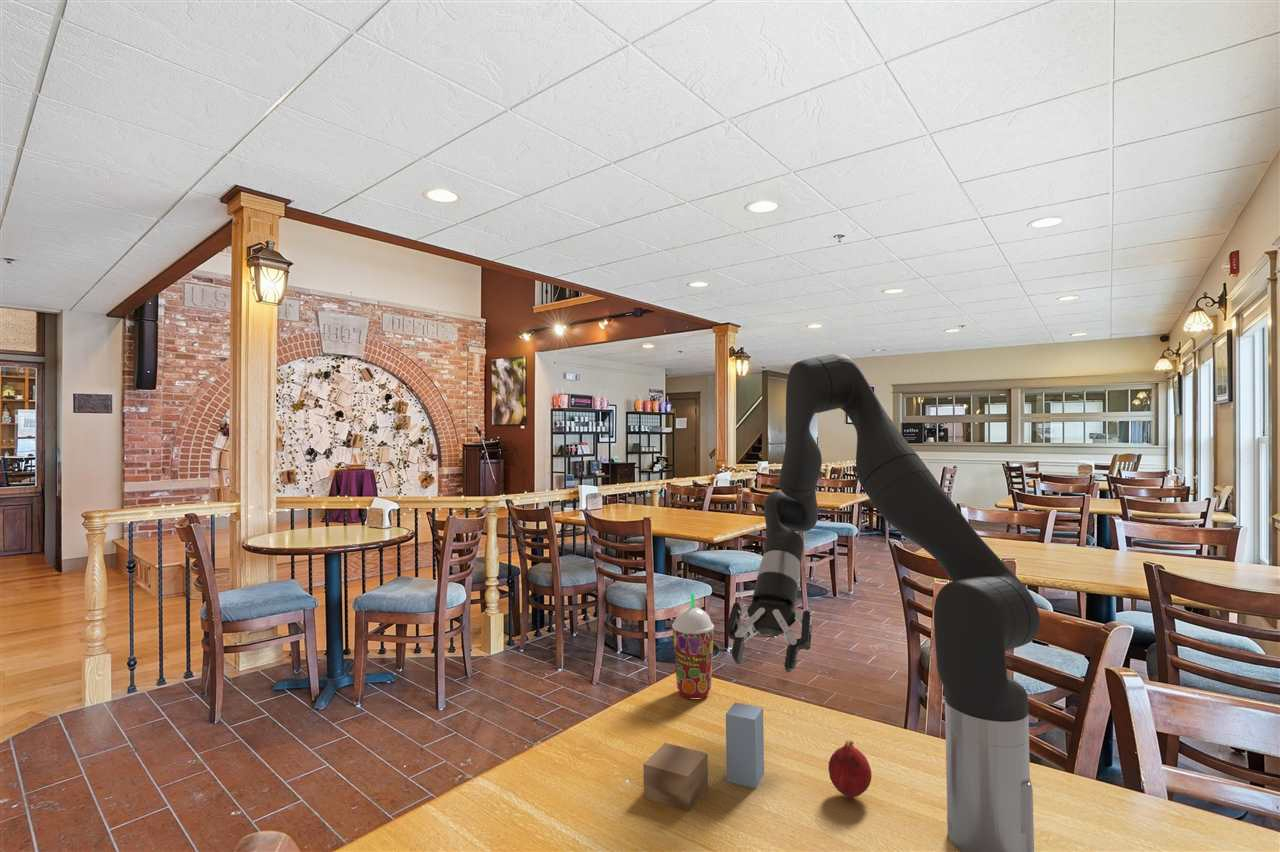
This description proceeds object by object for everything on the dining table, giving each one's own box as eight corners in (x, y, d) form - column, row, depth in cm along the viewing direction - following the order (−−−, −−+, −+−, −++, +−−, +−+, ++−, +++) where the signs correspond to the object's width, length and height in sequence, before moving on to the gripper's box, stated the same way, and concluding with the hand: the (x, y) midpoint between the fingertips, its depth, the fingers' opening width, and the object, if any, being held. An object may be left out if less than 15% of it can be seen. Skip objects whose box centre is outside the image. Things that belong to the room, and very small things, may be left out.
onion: (875, 812, 85) (873, 753, 85) (831, 807, 86) (830, 749, 86) (868, 788, 90) (867, 733, 90) (827, 784, 91) (826, 729, 92)
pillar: (764, 773, 95) (763, 707, 95) (756, 788, 91) (755, 719, 91) (735, 766, 97) (734, 702, 97) (726, 781, 93) (725, 714, 93)
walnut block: (707, 787, 91) (707, 753, 92) (688, 812, 85) (688, 776, 85) (665, 775, 95) (665, 742, 95) (643, 799, 89) (643, 764, 89)
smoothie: (668, 700, 121) (667, 597, 122) (678, 683, 129) (677, 587, 130) (710, 705, 119) (709, 600, 119) (718, 688, 127) (716, 590, 127)
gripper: (735, 566, 114) (715, 648, 104) (814, 573, 108) (801, 661, 97) (744, 589, 119) (726, 669, 108) (820, 596, 113) (808, 683, 102)
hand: (761, 665), depth 103 cm, fingers open, 8 cm apart
